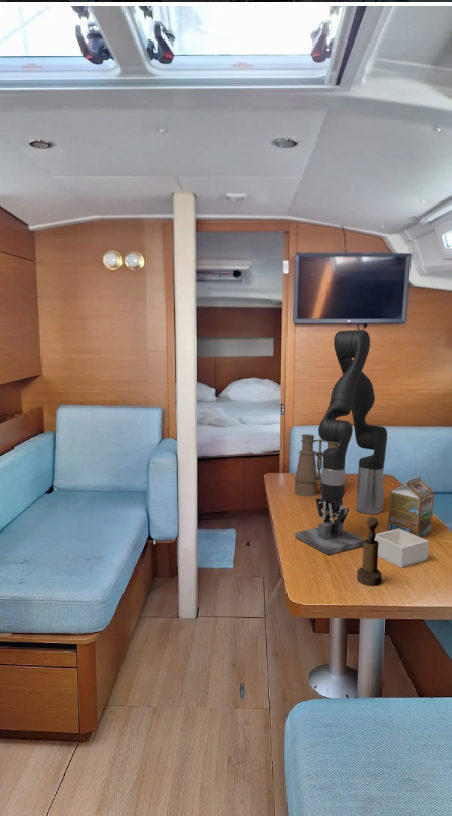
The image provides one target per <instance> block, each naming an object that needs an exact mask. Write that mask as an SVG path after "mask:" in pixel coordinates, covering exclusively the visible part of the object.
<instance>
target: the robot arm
mask: <svg viewBox="0 0 452 816" xmlns="http://www.w3.org/2000/svg"><path fill="white" fill-rule="evenodd" d="M333 344H334V345H333V346H334V350H335V351H334V352H335V355H336V357H337V360H338V364H339V367H340V370H341V372H342V376H340V378H339V379H338V380H337V381H336V383H335V384H334V386H333V389H332V392H331V396H330V402H329V405H328V408H327V410H326V412H325V413H324V416H323V417H322V419H321V421H320V423H319V425H318V429H317V434H318V437H319V439H322V440H324V441H332V442H339V446H338V447H337V448H329V449H328V448H325V449H324V450H323V451H322V452H323V457H322V468H321V469H322V470H321V473H320V477H321V482H320V483H321V494H320V495H321V497H318V498H315V503H316V509H317V514H318V516H319V517H320V518H321V519H322V520H323V521H322V523H324V522H329V521H332V524H331V525H332V527H331V535H337V534H338V528H339V524H341V523H343V524H344V523H345V520H346V518H347V516H348V513H349V512H350V509H349V508H348V507H345V506H344V503H343V498H344V496H345V488H346V487H345V486H346V457H347V456H346V455H347V451H348V447H349V444H350V442H351V439H352V437H353V431H354V435H355V436H354V438H355V442H356V445H357V446H358V447H359V448H362V449H366V450H372V451H373V454H372V455H369V456H364V457H361V458H359V460H358V473H357V491H356V507H355V509H356V511H358V512H360V513H363V514H369V515H370V514H371V515H375V514H376V515H377V514H380V513H382V511H383V510H384V497H385V496H384V495H385V486H384V485H383V483H384V468H385V461H386V460H385V459H386V451H387V442H388V431H387V428H386V427H385V426H382V425H372V424H367V421H366V417H367V415H368V413H370V411H371V409H372V408H373V406H374V404H375V402H376V397H375V396H376V395H375V391H374V385H373V382H372V381H371V379H370V378H369V377H368V376H367V375H366V374H365V373H364V372H363V369H364V368H365V364H366V362H367V358H368V356H369V353H370V347H371V338H370V334H369V333H368V331H367V330H363V329H361V330H360V329H356V330H351V329H350V330H339V331H338V332H336V333H335V336H334V339H333ZM350 414H351V415H352V419H353V420H352V422H353V425H352V424H351V422H350V421H348V420H341V419H339V417H345V416H347V417H348V416H349V415H350ZM353 427H354V428H353ZM353 429H354V430H353Z"/></svg>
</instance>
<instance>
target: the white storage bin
mask: <svg viewBox="0 0 452 816" xmlns="http://www.w3.org/2000/svg"><path fill="white" fill-rule="evenodd" d="M374 540H376V541H378V542H379V545H378V558H380V559H381V560H385V561H386V562H388V563H390V564H393V565H395V566H396V567H398V568H401V569H402V568H405V566H406V567H410V566H411V565H416V564H418V563H421V562H425V560H426V561H428V558H429V549H430V547H429V545H430V540H428V539H425V538H423V537H422V538H420V537H418V536H416V535H413V534H411V533H408V532H406V531H403V530H401V529H395V530H391V531H388V530H387V531H383V532H380V533H379V532H378V533H376V537H375V539H374ZM415 563H416V564H415Z"/></svg>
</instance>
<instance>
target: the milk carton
mask: <svg viewBox="0 0 452 816" xmlns="http://www.w3.org/2000/svg"><path fill="white" fill-rule="evenodd" d="M421 477H422V476H421V475H418V476H415V477H413V478H410V479H407V480H405V484H403V485H401V486H399V487H397V488H395V489H392V490H391V491H390V493H389V506H388V507H389V510H388V522H387V523H388V524H387V531H391V530H395V529H401V530H403V531H406V532H408V533H411V534H413V535H416V536H418V537H420V538H423V537H425V536H427V535H429V534H431V533H432V526H433V514H434V513H433V512H434V500H435V499H434V498H435V492H434V491H433V489H431V487H430V486H429V485H428V484H426V483H425V482H424V481H423V480H422V478H421Z"/></svg>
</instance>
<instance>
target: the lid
mask: <svg viewBox="0 0 452 816" xmlns="http://www.w3.org/2000/svg"><path fill="white" fill-rule="evenodd" d="M331 524H332V520H331V521H329V522H324V523H323V522H320V523H318V525H317V527H313V528H310V529H306V530H301V531H298V532H297V531H296V532H294V533H295V534H294V535H295V536H294V538H297V539H298V540H300V541H302V542H303V543H306V544H307V545H309V546H311V547H313V548H314V549H316V550H318V551H320V552H322V553H323V554H325V555H328V556H330V555H333V554H337V553H340V552H345V551H350V550H351V549H356V548H360V547H363V544H364V540H366V538H363V537H360V536H358V535H356V534H354V533H352V532H350V531H348V530H345V529H344V523H341V524H339V528H338V534H337V535H331V527H332V525H331Z"/></svg>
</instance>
